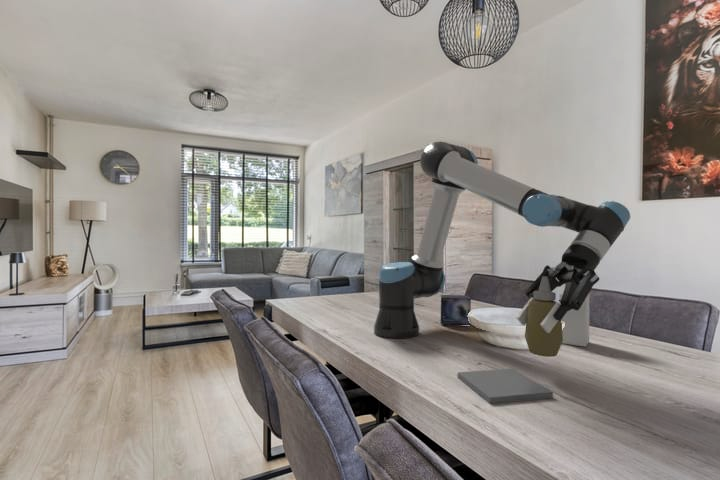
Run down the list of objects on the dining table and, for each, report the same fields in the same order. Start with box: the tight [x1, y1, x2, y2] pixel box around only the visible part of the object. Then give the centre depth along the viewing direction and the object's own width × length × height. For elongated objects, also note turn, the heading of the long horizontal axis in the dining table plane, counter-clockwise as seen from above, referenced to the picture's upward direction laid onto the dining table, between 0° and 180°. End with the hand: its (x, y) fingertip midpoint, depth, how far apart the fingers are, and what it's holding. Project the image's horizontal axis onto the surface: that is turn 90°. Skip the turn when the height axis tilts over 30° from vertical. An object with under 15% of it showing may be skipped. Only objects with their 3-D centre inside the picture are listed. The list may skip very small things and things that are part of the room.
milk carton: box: [559, 284, 590, 348], centre depth 118 cm, size 7×7×19 cm
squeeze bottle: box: [524, 276, 563, 358], centre depth 90 cm, size 8×8×18 cm
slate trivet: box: [457, 368, 554, 404], centre depth 83 cm, size 14×14×1 cm
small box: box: [439, 294, 472, 326], centre depth 142 cm, size 11×6×10 cm, turn 80°
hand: (532, 324), depth 88 cm, fingers closed on squeeze bottle, 6 cm apart
